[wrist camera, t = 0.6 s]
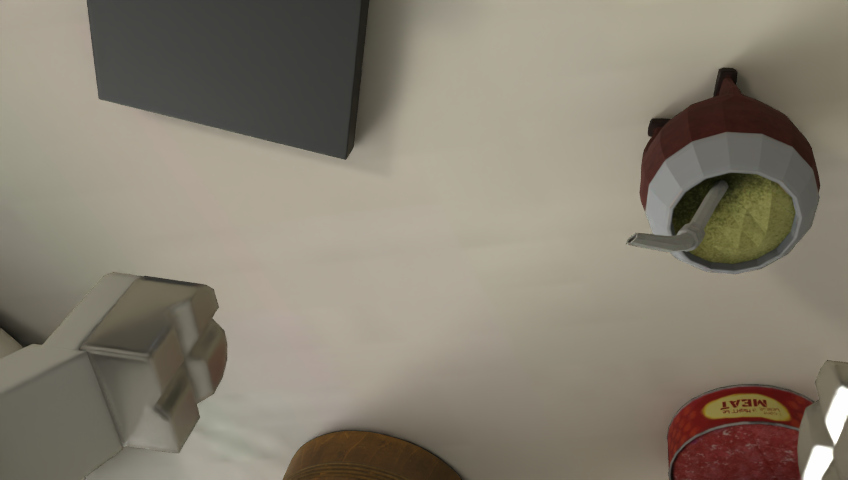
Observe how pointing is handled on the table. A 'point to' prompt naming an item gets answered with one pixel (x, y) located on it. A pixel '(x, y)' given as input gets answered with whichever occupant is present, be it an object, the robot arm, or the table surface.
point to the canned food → (737, 435)
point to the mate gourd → (727, 183)
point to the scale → (237, 65)
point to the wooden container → (365, 459)
